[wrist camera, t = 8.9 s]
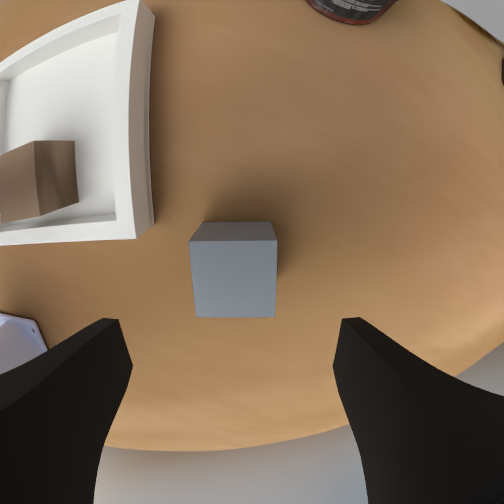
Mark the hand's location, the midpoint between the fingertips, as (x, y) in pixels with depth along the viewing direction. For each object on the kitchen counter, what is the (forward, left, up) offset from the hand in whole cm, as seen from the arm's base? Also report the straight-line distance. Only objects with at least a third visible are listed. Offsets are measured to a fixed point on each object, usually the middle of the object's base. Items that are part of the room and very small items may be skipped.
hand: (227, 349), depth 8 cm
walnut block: (+6, +12, -8) cm, 16 cm away
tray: (+9, +12, -9) cm, 17 cm away
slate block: (0, 0, -9) cm, 9 cm away
